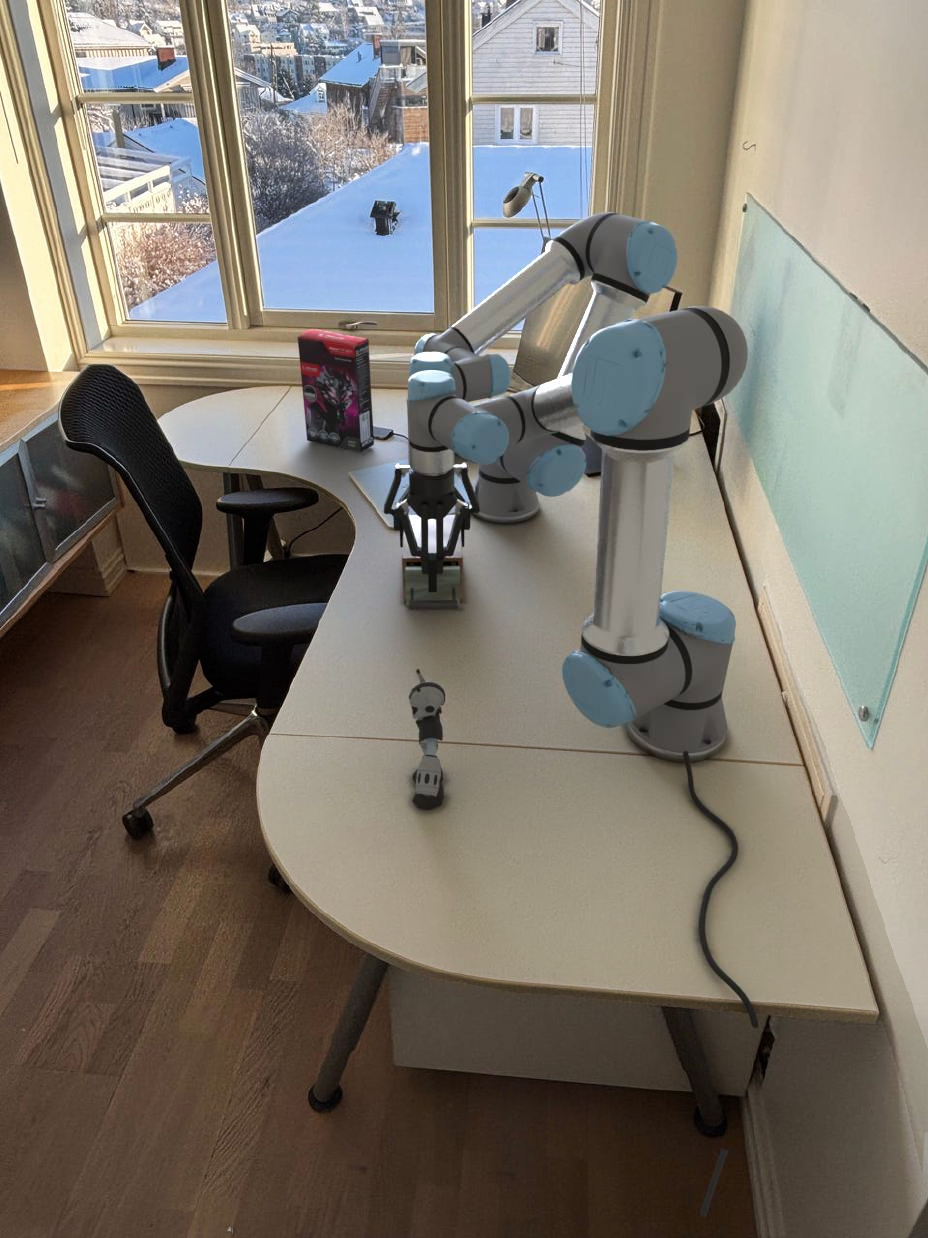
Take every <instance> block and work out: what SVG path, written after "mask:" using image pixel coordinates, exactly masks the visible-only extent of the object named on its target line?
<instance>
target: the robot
mask: <svg viewBox="0 0 928 1238" xmlns="http://www.w3.org/2000/svg"><path fill="white" fill-rule="evenodd" d="M415 670H416V671H415V672H416V675H417V677H418V680H419V682H420V683H418V684H416V685H415V686H414V687H412V689H410V692H409V694H408V700H409V705H410V707H411V711H412V712H411V715H412V719H414V720H415V725H416V727H417V728H418V744H419V746H420V748H421V751H422V754H423V755H422V757H421V759H420V762H419V764H418V767H417V769H416V770H415V771H414V772H413V774H412V775H411V777H412V780H413V783H414V784H415V793H414V796H413V798H412V803H413V804H414V805H415V806H416V807H417V808H418V809H421V810H432V809H435V808H436V807H439V806H441V805H442V804H443V802H444V799H445V794H444V787H443V784H442V782H443V781H444V773H443V769H442V764H441V761H440V758H439V757H438V756H437V753H438V750H439V741H441V742H442V741H443V739H444V729H443V724H442V722H441V714H442V713H443V710H442V706H444V704H445V703H446V692H445V690H444V687H442V686H441V685H440V684H438V683H437V682H435V681H429V680H428V681H426V679H425V677H424V676H423V674H422V671H421V670H420V669H419V668H417V669H415Z"/></svg>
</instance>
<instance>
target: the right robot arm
mask: <svg viewBox="0 0 928 1238" xmlns="http://www.w3.org/2000/svg"><path fill="white" fill-rule="evenodd" d="M748 356H749V348H748V342H747V338H746V336H745V334H744V331H743V329H742V327H741V326H740V324H739V323H738V322H737V320H735V318H733V317H732V316H731V315H730V314H728V313H726V312H725V311H724V310H721V309H718V308H715V307H713V306H705V305H693V306H688V307H684V308H680V309H676V310H672V311H668V312H663V313H659V314H654V315H649V316H645V317H640V318H634V319H633V318H631V319H628V320H624V321H621V322H619V323H616V324H615V325H613V326H610V327H606V328H604V329H601V330H599V331H598V332H596V333H595V334H593V335H592V336H591V337H590V339H589V340H587V341H586V342H585V343H584V345H583V346H582V348H581V349H580V351H579V353H578V355H577V357H576V360H575V363H574V366H573V371H572V373H571V374H569V375H566V376H563V377H561V378H558V377H557V378H558V379H557V378H555V379H553V380H550V381H548V382H545V383H542V384H539V385H537V386H534V387H531V388H528V389H525V390H522V391H518V392H515V393H511V394H507V395H503V396H498V397H494V398H490V399H487V400H484V401H483V400H482V401H480V402H476V403H470V402H466V401H465V400H463V399H460V398H459V397H457V396H455V392H456V388H455V380H454V378H453V376H452V375H450V374H448V373H446V372H442V371H434V370H430V371H422V372H418V373H416V374H414V375H412V376H411V377H410V379H409V378H408V380H409V381H408V380H407V397H406V400H405V401H406V410H407V411H406V413H407V437H408V443H407V447H408V449H407V451H408V453H407V454H408V465H409V466H410V468H409V472H408V482H409V483H408V487H409V493H408V494H407V499H406V500H404V501H402V502H398V501H396V502H395V503H394V506H395V514H396V515H397V516H398V518H399V519H400V520H401V523H402V526H403V529H404V533H405V536H406V539H407V543H408V546H409V549H410V553H411V555H412V556H413V557H416V556H417V557H420V558H421V560H422V574H428V592H437V574H442V573H443V559H444V558H445V557H447V556H449V557H451V556H453V554H454V551H455V548H456V544H457V541H458V537H459V534H460V530H461V527H462V523H463V520H464V519H465V517H466V516H467V515H468V513H469V512H470V510H469V505H470V502H468V501H467V500H465V501H464V502H462V501H460V500H459V499H457V494H456V493H455V491H454V486H455V473H456V472H455V470H454V468H453V467H454V465H456V464H455V463H456V462H455V459H456V458H455V457H456V455H458V456H459V457H460V458H462V459H465V460H466V461H470V462H472V463H474V464H476V465H478V466H479V465H488V464H491V463H493V462H495V461H496V459H497V458H499V457H500V456H502V455H503V454H504V452H505V450H506V448H507V446H510V445H513V444H517V443H519V442H522V441H526V440H530V439H534V438H537V437H541V436H545V435H549V434H553V433H556V432H558V431H560V430H563V429H567V428H570V427H574V426H577V425H580V424H584V426H585V427H587V428H588V429H589V430H590V431H589V436H590V439H591V440H592V441H593V442H594V444H596V445H597V447H599V448H600V449H601V464H600V485H599V504H598V523H597V543H596V562H595V563H596V564H595V581H594V582H595V584H594V600H593V601H594V602H593V613H592V614H591V615H589V616H588V617H587V618H586V619H584V621H583V623H582V626H581V637H580V648H579V650H574V651H572V652H570V653H569V655H567V656H566V657H565V658H564V660H563V663H562V666H561V676H562V680H563V684H564V687H565V690H566V692H567V695H568V696H569V698H570V699H571V701H572V702H573V704H574V706H575V707H576V709H577V710H578V711H579V712H580V713H581V714H582V716H584V717H585V718H586V719H587V720H588V721H590V722H591V723H593V724H595V725H596V726H599V727H601V728H604V729H613V728H618V727H620V726H622V725H625V728H626V732H627V734H628V736H629V738H630V739H631V741H632V742H634V744H636V745H637V746H638V747H639V748H640V749H641V750H643V751H645V752H646V753H648V754H650V755H651V756H654V757H656V758H659V759H662V760H666V761H670V762H675V763H684V764H685V769H686V774H687V786H688V791H689V795H690V797H691V799H692V800H693V802H694V804H695V805H696V806H697V807H698V809H699V810H700V811H701V812H702V813H703V814H704V815H706V816H707V817H708V818H709V819H711V820H712V821H713V822H714V823H716V824H717V825H718V827H720V828H721V829H723V831H724V832H725V833H726V834H727V835H728V837H729V839H730V842H731V854H730V856H729V858H728V860H727V861H726V863H724V865H723V866H721V868H720V869H719V870H717V872H716V873H715V874H714V875H713V876H712V877H711V880H710V881H709V883H708V884H707V886H706V888H705V890H704V893H703V897H702V900H701V906H700V910H699V915H698V937H699V941H700V946H701V949H702V952H703V955H704V957H705V959H706V961H707V964H708V965H709V967H710V968H711V969H712V971H713V972H715V974H716V975H717V976H718V978H720V979H721V980H722V981H723V982H724V983H725V984H726V985H727V986H728V987H729V988H730V989H732V990H733V992H734V993H735V994H736V995H737V996H738V997H739V998H740V1000H741V1002H742V1003H743V1005H744V1008H746V1012H747V1014H748V1016H749V1020H750V1024H751V1027H753V1028H754V1029H758V1028H759V1020H758V1017H757V1012H756V1010H755V1008H754V1006H753V1004H752V1001H751V1000H750V998H749V997H748V995H747V994H746V993H745V991H744V990H743V989H742V988H741V987H740V986H739V985H738V983H736V981H734V980H733V979H732V978H731V977H730V976H729V975H728V974H727V973H726V972H725V971H724V970H723V969H721V967H720V966H719V965H718V964H717V963H716V961H715V960H714V957H713V956H712V954H711V951H710V948H709V944H708V940H707V935H706V917H707V911H708V907H709V903H710V899H711V894H712V892H713V889H714V887H715V885H717V883H718V881H719V880H720V879H722V877H723V876H724V875H725V874H726V873H727V872H728V871H729V870H730V868H731V867H732V866H733V865H734V863H735V862H736V860H737V857H738V854H739V843H738V840H737V836H736V834H735V833H734V831H733V830H732V829H731V827H729V825H728V824H727V823H726V822H725V821H724V820H722V819H721V818H719V817H718V816H717V815H716V814H714V813H713V812H712V811H710V809H708V807H706V806H705V804H703V802H702V801H701V800H700V799H699V797H698V795H697V793H696V790H695V786H694V785H695V784H694V775H693V769H692V765H691V763H694V762H700V761H703V760H706V759H709V758H711V757H714V755H716V754H718V752H720V751H721V750H722V748H723V747H724V744H725V743H726V740H727V739H726V738H727V734H728V721H727V716H726V712H725V708H724V707H725V706H724V701H723V692H724V686H725V682H726V678H727V674H728V668H729V664H730V659H731V654H732V651H733V650H732V649H733V645H734V643H735V641H736V627H737V621H736V617H735V615H734V613H733V611H732V610H731V609H730V608H729V607H728V606H727V605H726V604H725V603H723V602H722V601H720V600H719V599H717V598H714V597H712V596H709V595H707V594H703V593H699V592H694V591H689V590H673V591H667V592H665V593H663V594H662V591H663V580H664V570H665V558H666V550H667V549H666V548H667V547H666V546H667V537H668V526H669V517H670V516H669V515H670V507H671V506H670V505H671V496H672V484H673V472H674V462H675V454H676V452H677V451H678V450H680V449H681V448H682V447H684V446H685V445H687V443H689V440H690V434H691V433H690V432H691V425H692V416H693V415H692V414H693V411H694V410H697V409H700V408H704V407H707V406H709V405H712V404H714V403H716V402H718V401H720V400H722V399H724V397H726V396H727V395H729V394H730V393H731V392H732V391H733V390H734V389H735V388H736V387H737V385H738V384H739V382H740V381H741V379H742V378H743V375H744V373H745V372H746V368H747V363H748V358H749V357H748ZM455 454H456V455H455ZM453 508H454V513H455V514H454V515H455V518H454V521H453V525H452V529H451V532H450V536H449V539H448V543H447V546H445V547H443V518H444V517H446V515H449V513H450V512H451V511H452V510H453ZM410 509H412V511H413V512H414V513H415V515H418V516H419V517H420V518H421V547H419V546H418V545H417V541H416V538H415V535H414V531H413V528H412V524H411V521H410V518H409V515H410V514H409V513H410ZM429 519H435V520H436V553H428V520H429ZM728 1152H729V1150H728V1149H725V1148H723V1147H721V1150H720V1153H719V1155H718V1159H717V1161H716V1164H715V1166H714V1170H713V1173H712V1176H711V1179H710V1181H709V1184H708V1188H707V1191H706V1194H705V1197H704V1200H703V1203H702V1206H701V1210H700V1213H699V1215H700V1216H701V1218H706V1216H707V1215H708V1211H709V1208H710V1207H709V1206H710V1204H711V1201H712V1198H713V1195H714V1192H715V1189H716V1187H717V1183H718V1181H719V1177H720V1175H721V1172H722V1169H723V1166H724V1163H725V1161H726V1158H727V1155H728Z"/></svg>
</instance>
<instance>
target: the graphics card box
mask: <svg viewBox="0 0 928 1238" xmlns="http://www.w3.org/2000/svg"><path fill="white" fill-rule="evenodd" d="M297 345H298V346H297V347H298V355H299V356H298V357H299V367H300V377H301V389H302V399H303V410H304V411H303V412H304V421H305V422H304V423H305V433H306V441H307V442H311V443H316V444H320V445H324V446H329V447H333V448H338V449H342V450H346V451H350V452H354V453H359V454H360V453H363V452H364V451H366V450H368V449H369V448H371V447H373V446H374V445H375V436H374V418H373V417H374V416H373V403H372V402H373V401H372V383H371V382H372V380H371V361H370V339H369V338H368V337H360V336H355V335H354V336H353V335H349V334H344V333H343V334H342V333H338V332H332V331H327V330H321V329H316V328H310V329H307V330H305V331H303V332H301V334H300V333H299V335H298V336H297Z"/></svg>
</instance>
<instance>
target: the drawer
mask: <svg viewBox="0 0 928 1238" xmlns="http://www.w3.org/2000/svg"><path fill="white" fill-rule="evenodd" d="M405 576H406V603H405V604H406V605H405V606H406V607H408V611H458V606H460V605H461V602H460V566H456V563H455V562H443V573H442V574H437V592H428V574H422V562H410V566H406V567H405Z"/></svg>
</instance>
